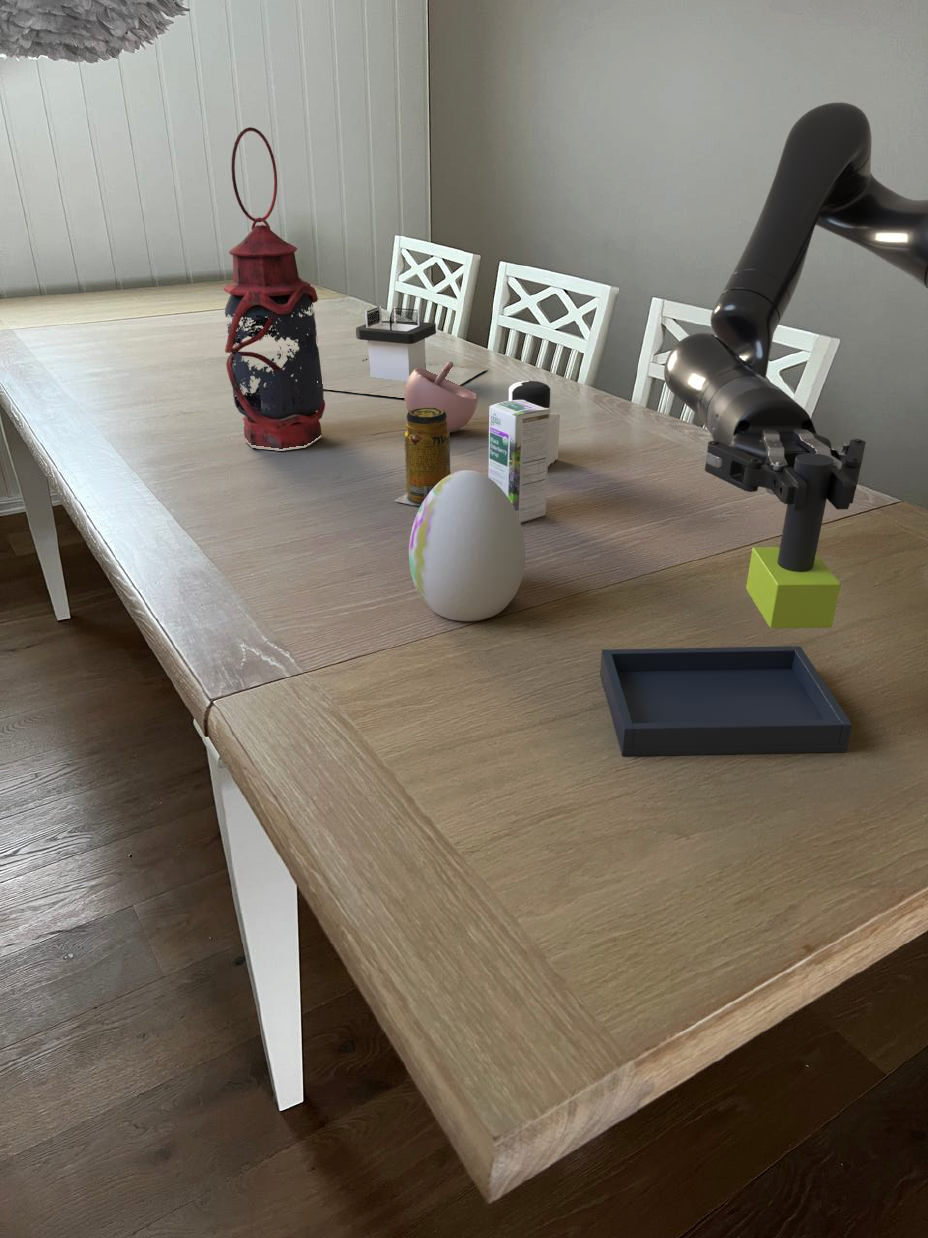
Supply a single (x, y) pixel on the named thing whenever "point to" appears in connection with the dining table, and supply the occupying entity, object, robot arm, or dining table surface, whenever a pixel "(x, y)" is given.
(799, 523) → the sponge wand
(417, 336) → the black-topped pedestal
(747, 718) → the tray
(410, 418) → the condiment
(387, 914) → the dining table surface
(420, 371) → the mortar and pestle
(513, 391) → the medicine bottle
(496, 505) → the decorative egg
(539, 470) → the syrup box
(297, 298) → the lantern
